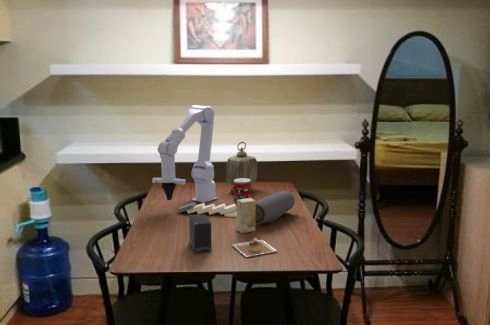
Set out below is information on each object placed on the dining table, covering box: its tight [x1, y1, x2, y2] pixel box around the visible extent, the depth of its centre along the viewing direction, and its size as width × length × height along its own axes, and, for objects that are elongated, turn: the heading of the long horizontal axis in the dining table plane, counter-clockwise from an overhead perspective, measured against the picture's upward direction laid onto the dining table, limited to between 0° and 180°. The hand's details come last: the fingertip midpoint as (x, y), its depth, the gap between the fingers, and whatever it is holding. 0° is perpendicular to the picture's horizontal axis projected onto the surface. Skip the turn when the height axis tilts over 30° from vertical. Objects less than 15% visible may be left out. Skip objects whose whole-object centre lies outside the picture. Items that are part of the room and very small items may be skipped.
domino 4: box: [208, 202, 227, 216], centre depth 205 cm, size 2×4×7 cm
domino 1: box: [177, 201, 197, 214], centre depth 207 cm, size 2×4×7 cm
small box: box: [188, 213, 213, 254], centre depth 168 cm, size 11×6×10 cm, turn 17°
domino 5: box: [218, 203, 237, 215], centre depth 205 cm, size 2×4×7 cm
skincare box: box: [236, 197, 257, 234], centre depth 184 cm, size 6×4×12 cm
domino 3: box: [196, 203, 216, 215], centre depth 206 cm, size 2×4×7 cm
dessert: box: [231, 237, 278, 258], centre depth 166 cm, size 12×12×5 cm
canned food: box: [233, 178, 252, 206], centre depth 219 cm, size 8×8×11 cm
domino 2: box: [186, 202, 206, 215], centre depth 207 cm, size 2×4×7 cm
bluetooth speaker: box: [255, 190, 296, 225], centre depth 197 cm, size 23×9×10 cm, turn 145°
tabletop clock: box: [225, 141, 258, 194], centre depth 238 cm, size 14×9×25 cm, turn 144°
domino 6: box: [223, 210, 237, 218], centre depth 203 cm, size 2×4×7 cm
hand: (169, 199), depth 209 cm, fingers closed
